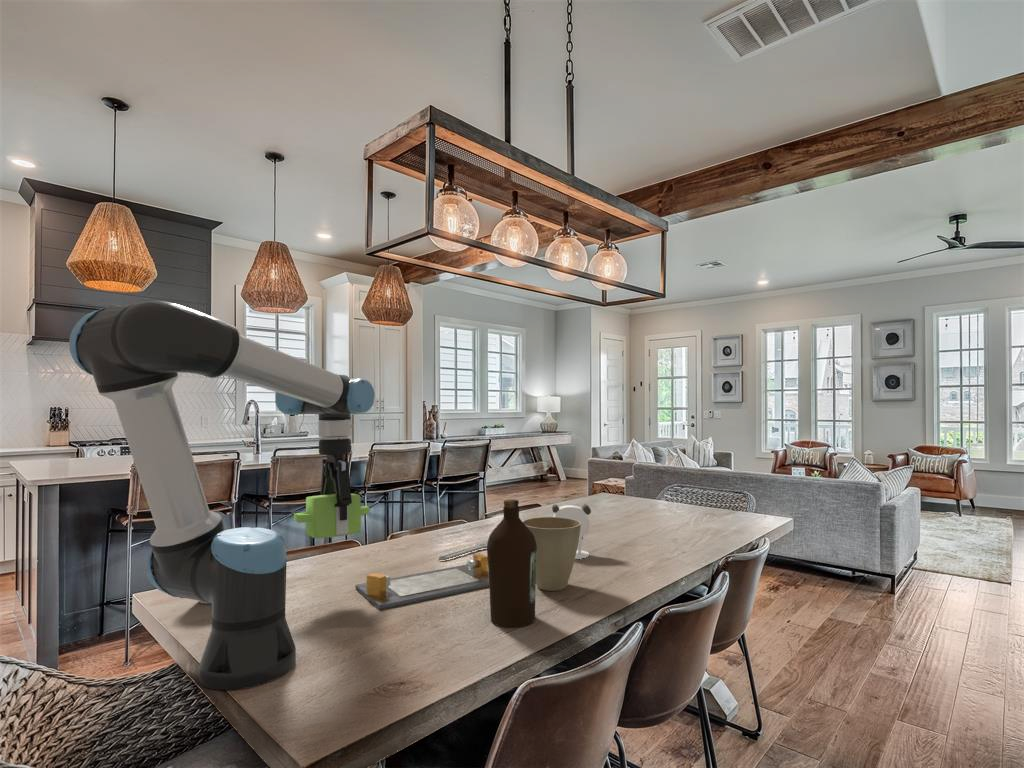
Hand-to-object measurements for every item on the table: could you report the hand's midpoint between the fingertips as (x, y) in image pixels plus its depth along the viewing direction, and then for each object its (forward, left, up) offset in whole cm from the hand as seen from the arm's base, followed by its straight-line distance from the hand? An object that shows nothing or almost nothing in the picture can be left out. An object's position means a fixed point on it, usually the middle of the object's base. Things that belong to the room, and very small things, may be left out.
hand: (335, 529), depth 134 cm
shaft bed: (-6, -22, -16) cm, 28 cm away
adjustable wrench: (+19, -46, -17) cm, 53 cm away
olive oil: (-37, -27, -16) cm, 49 cm away
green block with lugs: (0, 0, -1) cm, 1 cm away
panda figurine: (-3, -70, -16) cm, 72 cm away
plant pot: (-24, -47, -16) cm, 55 cm away
